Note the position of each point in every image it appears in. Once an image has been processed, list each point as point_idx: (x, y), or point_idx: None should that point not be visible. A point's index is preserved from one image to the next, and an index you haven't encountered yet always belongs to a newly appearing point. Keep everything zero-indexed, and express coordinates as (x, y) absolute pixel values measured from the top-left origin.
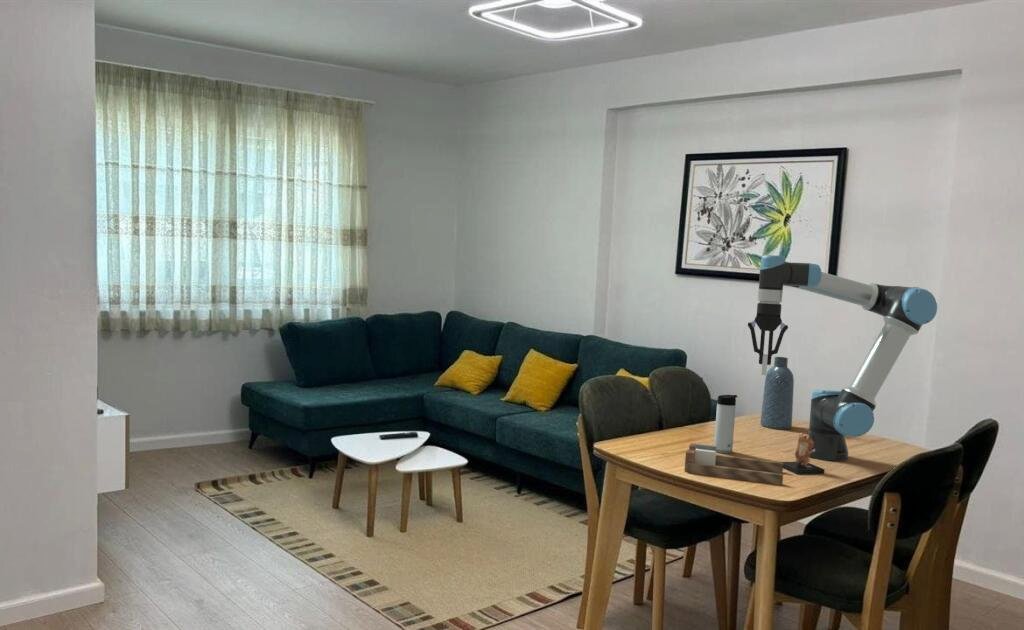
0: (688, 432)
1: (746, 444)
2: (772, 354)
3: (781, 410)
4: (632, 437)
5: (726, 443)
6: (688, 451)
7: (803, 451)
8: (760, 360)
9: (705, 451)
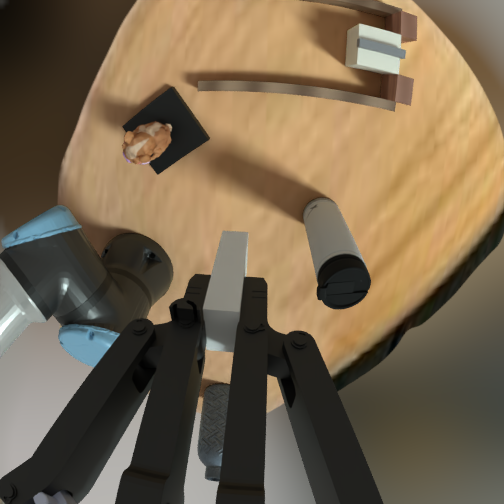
0: (361, 326)
1: (270, 290)
2: (169, 323)
3: (215, 406)
4: (458, 254)
5: (320, 207)
6: (412, 24)
7: (149, 127)
8: (256, 293)
9: (379, 29)
